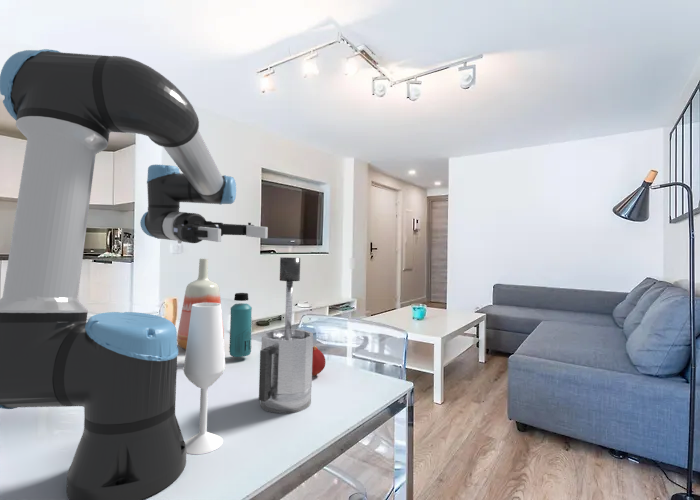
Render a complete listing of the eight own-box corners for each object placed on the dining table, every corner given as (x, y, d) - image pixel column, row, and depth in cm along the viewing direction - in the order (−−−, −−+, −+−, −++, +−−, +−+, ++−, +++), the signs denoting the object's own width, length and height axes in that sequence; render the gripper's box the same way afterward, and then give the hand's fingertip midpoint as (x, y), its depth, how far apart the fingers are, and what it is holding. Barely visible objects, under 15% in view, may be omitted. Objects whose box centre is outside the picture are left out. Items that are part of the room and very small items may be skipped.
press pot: (284, 424, 71) (286, 347, 71) (239, 412, 76) (241, 339, 76) (319, 398, 85) (321, 332, 84) (279, 389, 89) (281, 327, 89)
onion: (307, 371, 103) (308, 342, 103) (327, 373, 102) (328, 344, 102) (300, 378, 97) (301, 347, 97) (321, 380, 96) (322, 349, 96)
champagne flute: (181, 437, 65) (185, 302, 65) (221, 431, 68) (225, 301, 68) (181, 457, 59) (185, 308, 59) (225, 449, 62) (229, 307, 62)
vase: (213, 340, 133) (215, 258, 133) (231, 349, 122) (233, 259, 122) (170, 346, 123) (173, 257, 123) (185, 356, 112) (188, 259, 112)
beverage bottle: (244, 362, 108) (246, 294, 108) (224, 360, 110) (226, 293, 110) (254, 356, 115) (256, 292, 115) (235, 354, 116) (237, 291, 116)
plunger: (293, 352, 76) (296, 258, 76) (261, 347, 80) (264, 257, 80) (312, 343, 84) (315, 258, 84) (282, 339, 87) (285, 256, 87)
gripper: (226, 239, 105) (282, 246, 94) (136, 245, 84) (195, 255, 73) (226, 212, 104) (282, 216, 93) (136, 212, 83) (195, 217, 72)
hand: (244, 234), depth 83 cm, fingers open, 13 cm apart
